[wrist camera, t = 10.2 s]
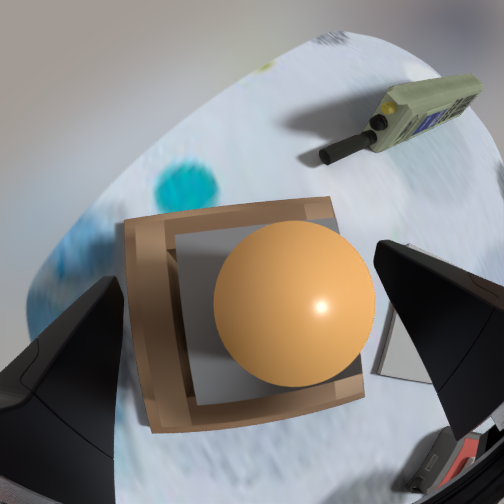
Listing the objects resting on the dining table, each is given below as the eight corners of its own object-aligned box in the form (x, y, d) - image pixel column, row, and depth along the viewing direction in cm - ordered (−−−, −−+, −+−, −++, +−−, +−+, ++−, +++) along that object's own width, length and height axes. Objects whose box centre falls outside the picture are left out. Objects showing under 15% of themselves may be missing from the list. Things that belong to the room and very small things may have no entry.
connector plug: (281, 342, 16) (423, 392, 4) (214, 352, 16) (182, 452, 3) (271, 277, 17) (383, 170, 5) (205, 286, 17) (148, 187, 4)
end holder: (358, 393, 17) (396, 411, 12) (155, 428, 15) (134, 459, 10) (325, 201, 20) (352, 168, 15) (129, 224, 18) (101, 194, 13)
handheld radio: (461, 119, 25) (331, 184, 20) (445, 100, 26) (307, 152, 21) (488, 89, 19) (366, 130, 14) (469, 69, 20) (330, 93, 15)
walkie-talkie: (385, 500, 15) (480, 495, 14) (409, 522, 10) (499, 504, 10) (435, 419, 17) (512, 437, 16) (468, 431, 13) (534, 442, 12)
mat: (459, 386, 17) (463, 387, 17) (376, 373, 17) (380, 374, 17) (479, 280, 20) (482, 279, 19) (405, 244, 20) (409, 243, 19)
